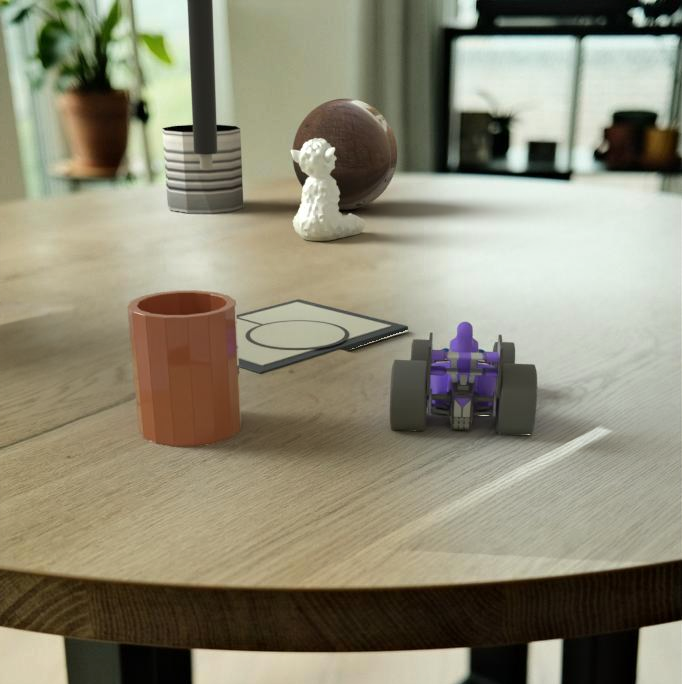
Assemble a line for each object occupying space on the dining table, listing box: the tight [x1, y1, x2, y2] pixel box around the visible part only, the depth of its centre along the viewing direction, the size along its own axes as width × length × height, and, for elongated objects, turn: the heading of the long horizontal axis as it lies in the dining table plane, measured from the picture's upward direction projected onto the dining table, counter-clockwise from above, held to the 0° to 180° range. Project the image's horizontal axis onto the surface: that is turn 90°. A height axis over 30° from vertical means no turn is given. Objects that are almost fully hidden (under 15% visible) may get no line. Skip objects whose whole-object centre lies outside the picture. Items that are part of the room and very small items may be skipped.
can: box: [161, 123, 244, 215], centre depth 148 cm, size 11×11×12 cm
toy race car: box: [389, 321, 538, 435], centre depth 73 cm, size 10×15×6 cm, turn 174°
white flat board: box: [237, 298, 409, 375], centre depth 89 cm, size 14×18×1 cm
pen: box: [186, 0, 218, 170], centre depth 62 cm, size 2×2×14 cm
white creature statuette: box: [290, 138, 366, 242], centre depth 128 cm, size 10×9×12 cm
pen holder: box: [127, 289, 242, 448], centre depth 67 cm, size 7×7×9 cm
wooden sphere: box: [292, 98, 398, 211], centre depth 146 cm, size 15×15×15 cm
